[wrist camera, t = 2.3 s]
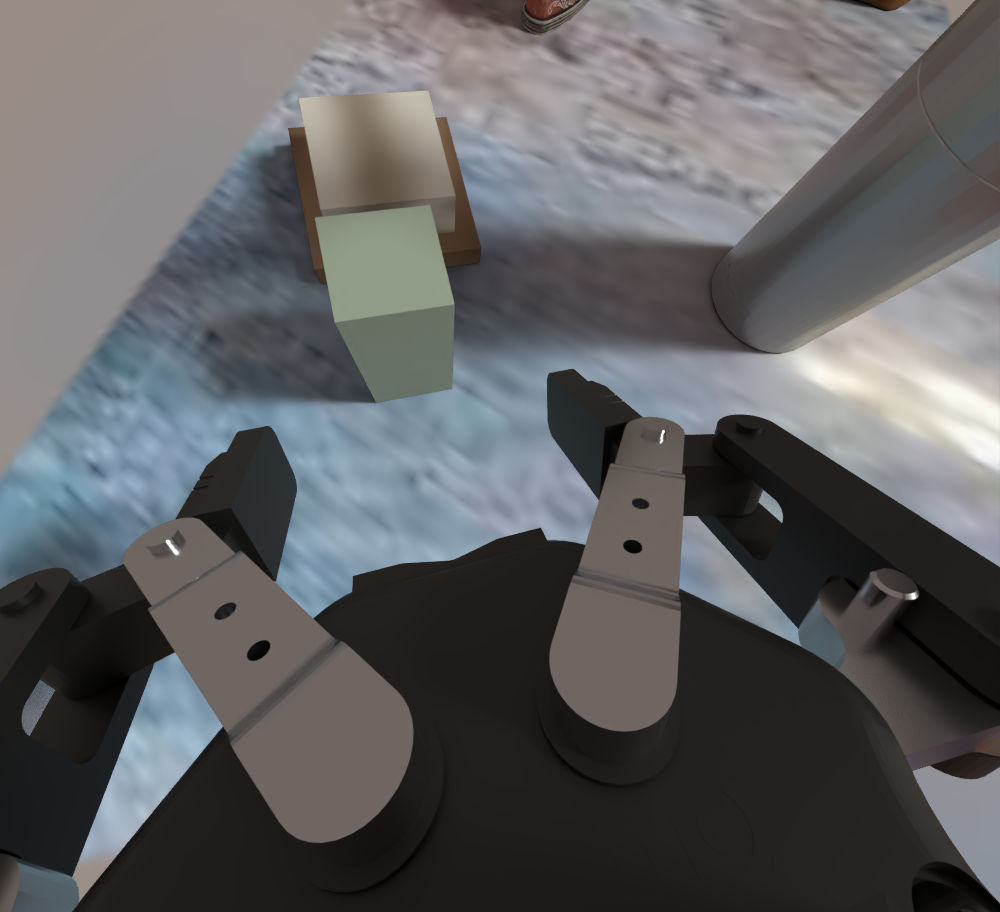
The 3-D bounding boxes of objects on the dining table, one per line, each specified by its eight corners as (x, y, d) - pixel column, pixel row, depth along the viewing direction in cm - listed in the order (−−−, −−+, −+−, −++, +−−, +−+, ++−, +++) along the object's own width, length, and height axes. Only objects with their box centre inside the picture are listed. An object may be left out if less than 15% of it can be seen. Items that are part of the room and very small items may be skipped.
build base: (446, 136, 31) (446, 70, 27) (479, 262, 29) (485, 213, 25) (295, 148, 29) (269, 80, 25) (321, 283, 27) (297, 235, 23)
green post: (436, 321, 28) (430, 204, 18) (452, 388, 27) (454, 304, 17) (362, 333, 27) (314, 217, 17) (376, 402, 26) (334, 322, 17)
